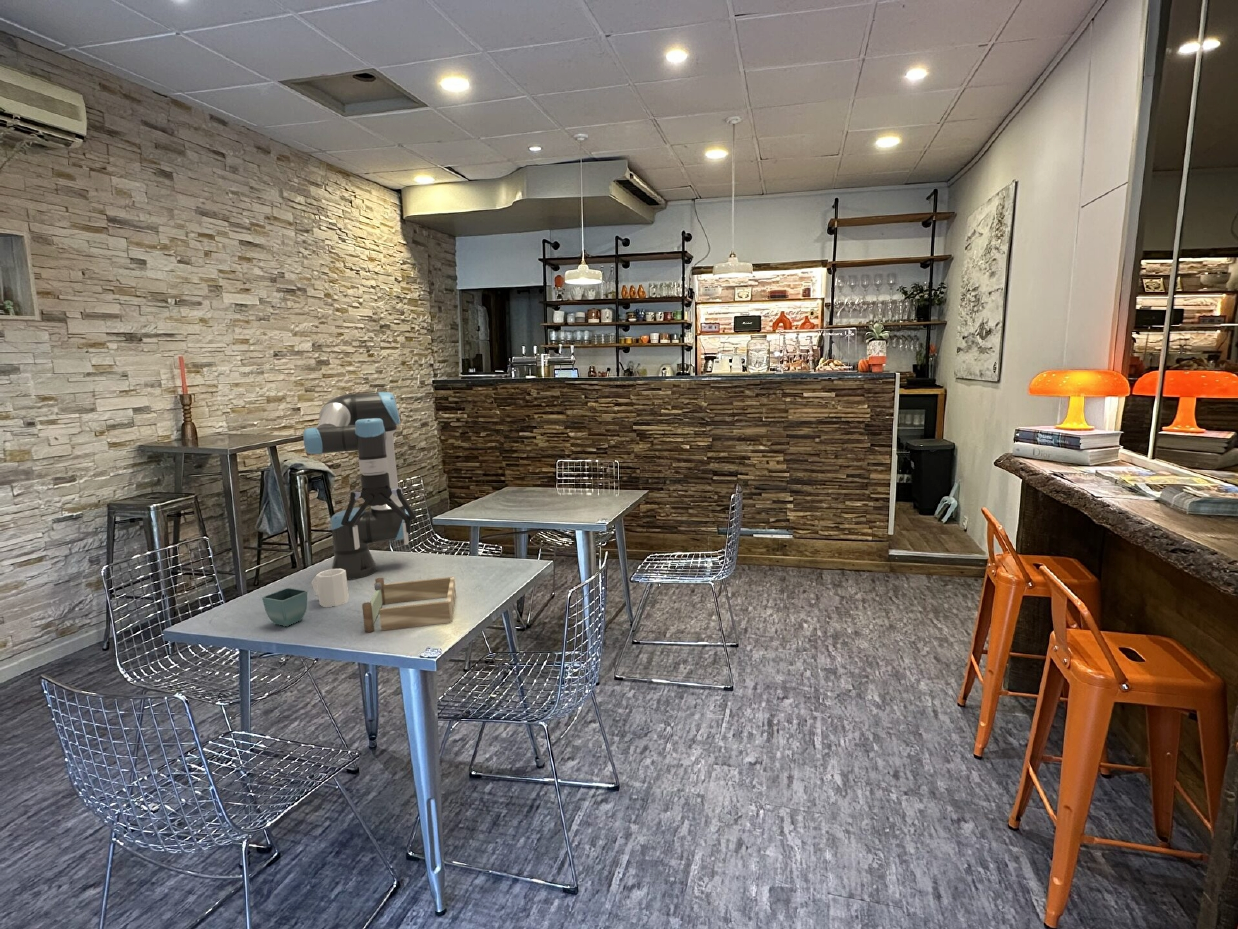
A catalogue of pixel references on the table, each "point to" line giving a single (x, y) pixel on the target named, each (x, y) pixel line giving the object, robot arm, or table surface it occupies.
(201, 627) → the table surface
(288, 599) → the flower pot
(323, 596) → the mug
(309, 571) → the table surface
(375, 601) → the gate
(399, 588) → the wooden u-shaped enclosure
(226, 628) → the table surface
